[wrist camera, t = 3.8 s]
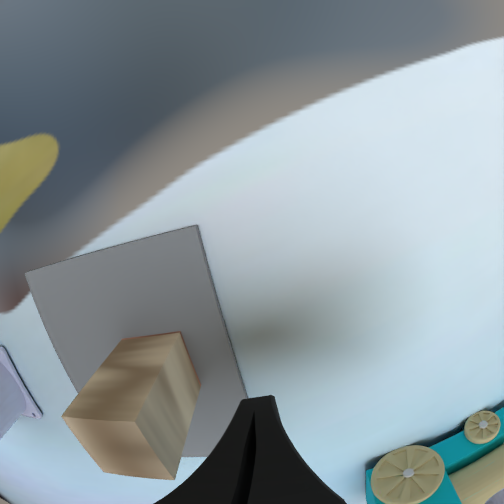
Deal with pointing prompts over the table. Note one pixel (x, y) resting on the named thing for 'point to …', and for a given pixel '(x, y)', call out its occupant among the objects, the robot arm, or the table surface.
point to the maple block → (138, 407)
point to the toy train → (444, 467)
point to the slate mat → (144, 318)
